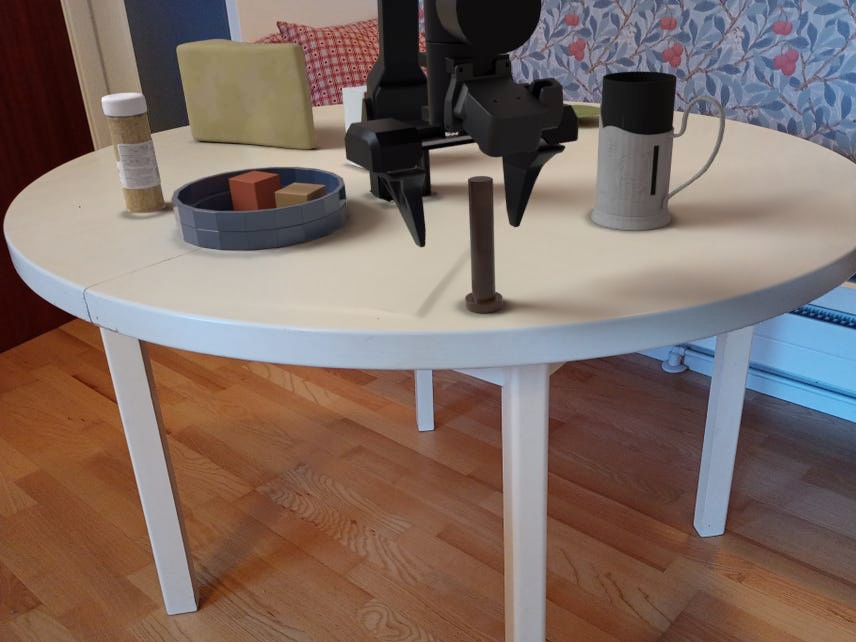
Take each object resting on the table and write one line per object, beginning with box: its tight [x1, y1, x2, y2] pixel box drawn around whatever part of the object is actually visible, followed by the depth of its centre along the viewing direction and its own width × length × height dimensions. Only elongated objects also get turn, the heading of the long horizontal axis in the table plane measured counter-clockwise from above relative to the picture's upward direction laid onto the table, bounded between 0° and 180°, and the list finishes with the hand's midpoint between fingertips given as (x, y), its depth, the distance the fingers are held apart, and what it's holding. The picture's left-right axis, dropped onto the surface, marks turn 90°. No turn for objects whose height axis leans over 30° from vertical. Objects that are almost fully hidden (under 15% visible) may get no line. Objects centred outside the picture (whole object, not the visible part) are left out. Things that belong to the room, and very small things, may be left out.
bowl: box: [170, 166, 349, 251], centre depth 90 cm, size 18×18×4 cm
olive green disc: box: [570, 104, 600, 119], centre depth 138 cm, size 11×11×2 cm
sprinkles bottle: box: [101, 92, 167, 214], centre depth 95 cm, size 5×5×14 cm
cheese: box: [176, 38, 317, 150], centre depth 127 cm, size 22×10×15 cm, turn 59°
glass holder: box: [590, 70, 726, 231], centre depth 86 cm, size 9×14×15 cm, turn 49°
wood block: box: [275, 183, 327, 208], centre depth 89 cm, size 4×4×4 cm
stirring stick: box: [464, 175, 504, 314], centre depth 68 cm, size 3×3×11 cm
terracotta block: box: [229, 171, 281, 211], centre depth 94 cm, size 4×4×4 cm
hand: (468, 235), depth 70 cm, fingers open, 9 cm apart
